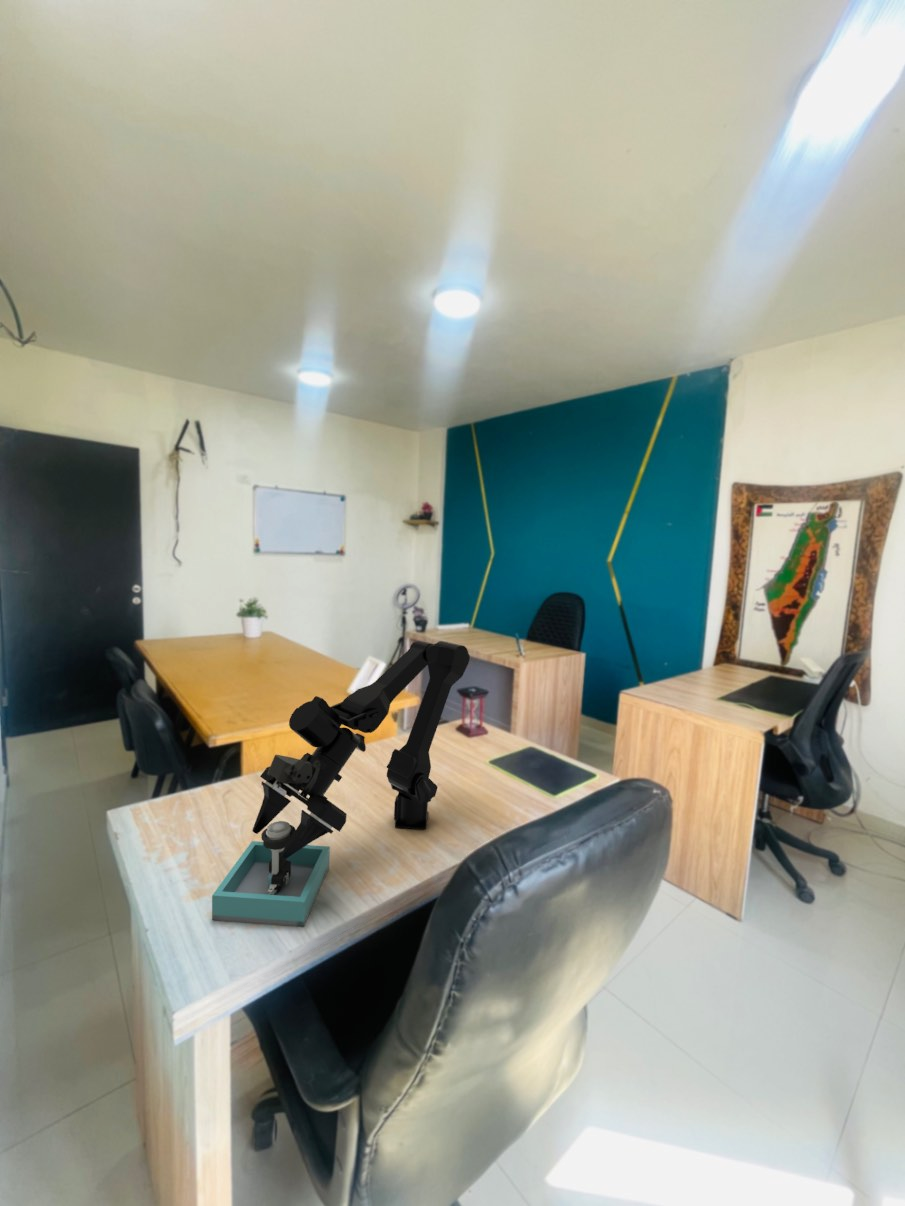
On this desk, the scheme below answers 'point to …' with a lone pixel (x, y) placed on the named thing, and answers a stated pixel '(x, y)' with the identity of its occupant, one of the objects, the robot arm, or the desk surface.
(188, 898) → the desk surface
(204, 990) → the desk surface
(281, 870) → the push button
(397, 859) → the desk surface
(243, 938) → the desk surface
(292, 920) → the tray
